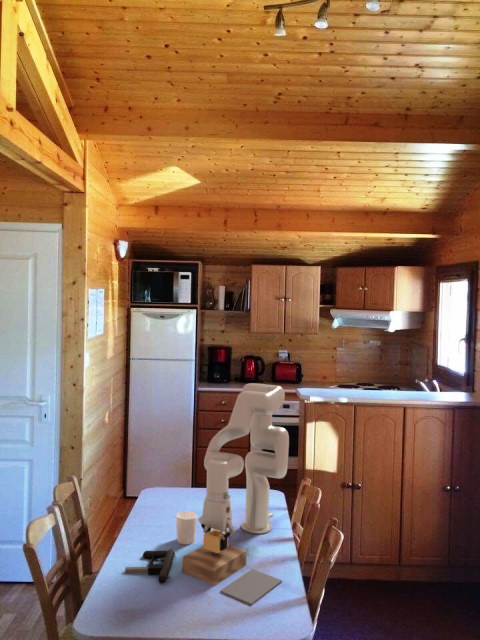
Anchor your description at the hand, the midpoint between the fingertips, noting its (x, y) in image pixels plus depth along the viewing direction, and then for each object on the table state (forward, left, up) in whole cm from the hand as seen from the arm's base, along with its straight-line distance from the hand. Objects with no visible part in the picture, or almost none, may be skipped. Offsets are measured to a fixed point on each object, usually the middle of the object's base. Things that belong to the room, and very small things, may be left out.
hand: (215, 545), depth 187 cm
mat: (+2, +17, -8) cm, 19 cm away
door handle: (+14, -17, -8) cm, 24 cm away
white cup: (-10, -22, -8) cm, 25 cm away
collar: (0, 0, -1) cm, 1 cm away
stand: (0, 0, -8) cm, 8 cm away
